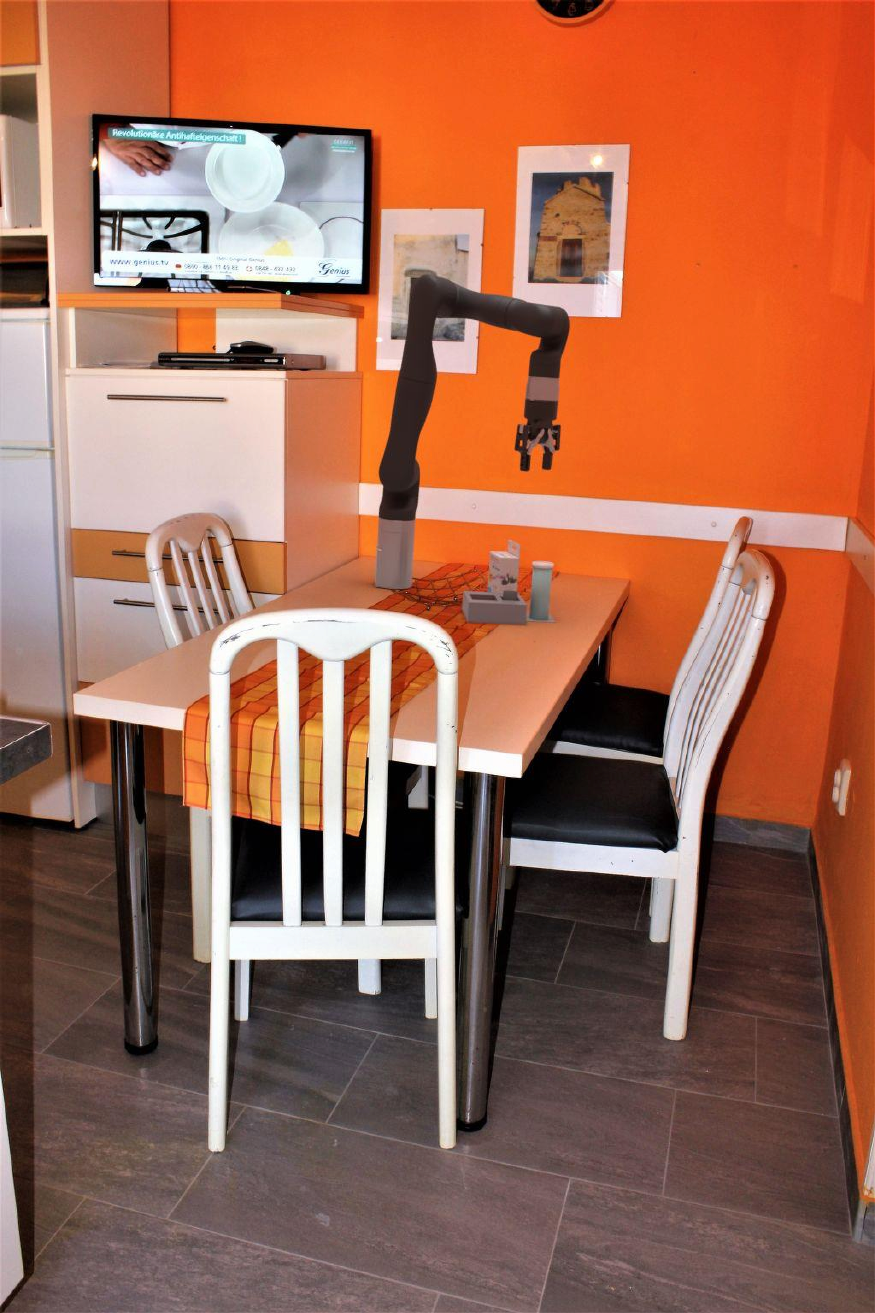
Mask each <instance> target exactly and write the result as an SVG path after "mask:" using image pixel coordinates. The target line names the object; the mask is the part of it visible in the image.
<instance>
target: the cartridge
mask: <svg viewBox="0 0 875 1313" xmlns="http://www.w3.org/2000/svg"><path fill="white" fill-rule="evenodd" d="M531 565H532V576H531V588H530V601H529V613H528V614H529V618H531V619H534V620H547V619H548V616H549V615H550V614H549V612H550V602H551V601H550V600H551V589H552V580H553V579H552V577H553V568H554V565H555V564H554V562H552V561H545V560H533V561H532V564H531Z"/></svg>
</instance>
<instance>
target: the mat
mask: <svg viewBox="0 0 875 1313" xmlns="http://www.w3.org/2000/svg"><path fill="white" fill-rule="evenodd" d="M529 622H531V623H549V624H550V623H553V624H555V623H556V620H555V619H554V618H553V616H552V615H550V614H549V616H548V619H547V620H534V619H531V618H529V613H526V623H529Z"/></svg>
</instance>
